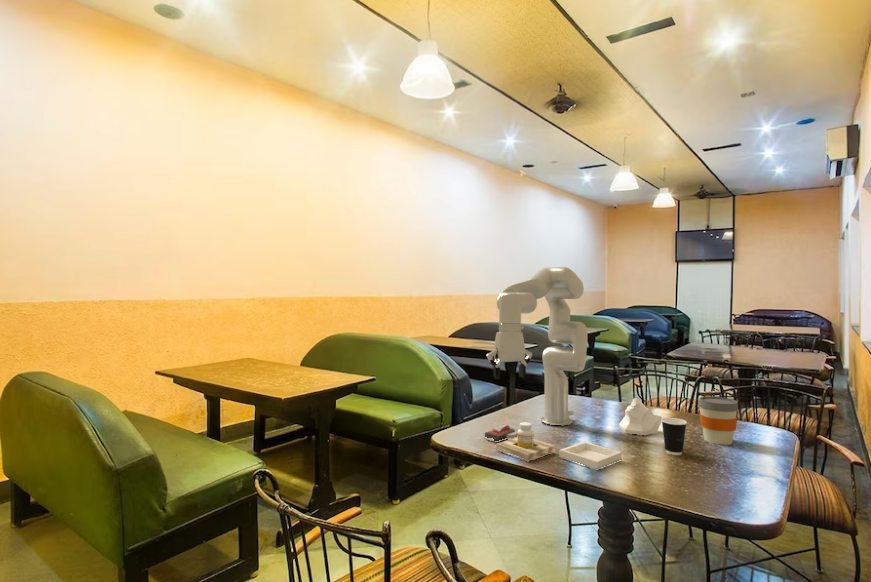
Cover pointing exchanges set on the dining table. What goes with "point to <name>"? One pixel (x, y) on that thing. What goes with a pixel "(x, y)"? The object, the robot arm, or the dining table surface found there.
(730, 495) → the dining table surface
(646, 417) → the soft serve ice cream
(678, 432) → the dixie cup
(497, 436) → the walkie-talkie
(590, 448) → the tray
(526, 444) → the supplement bottle
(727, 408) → the reusable coffee cup
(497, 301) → the robot arm
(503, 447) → the socket block
